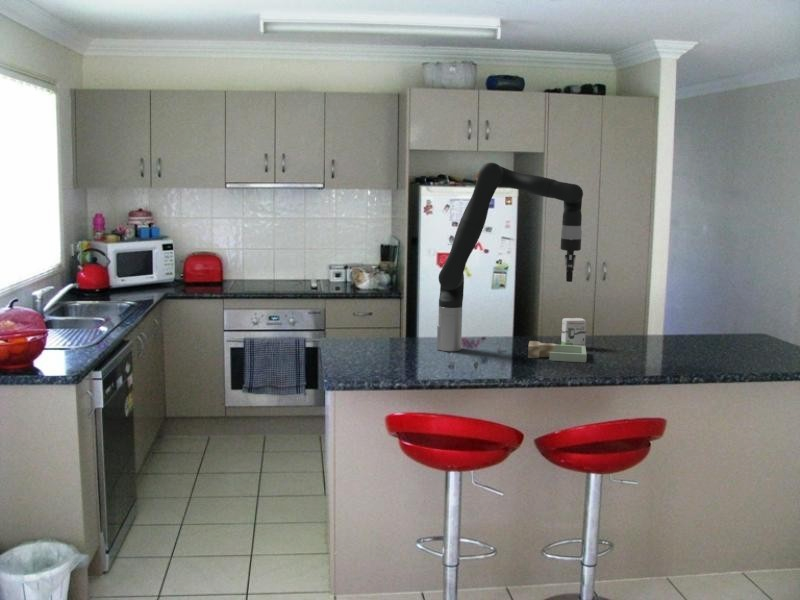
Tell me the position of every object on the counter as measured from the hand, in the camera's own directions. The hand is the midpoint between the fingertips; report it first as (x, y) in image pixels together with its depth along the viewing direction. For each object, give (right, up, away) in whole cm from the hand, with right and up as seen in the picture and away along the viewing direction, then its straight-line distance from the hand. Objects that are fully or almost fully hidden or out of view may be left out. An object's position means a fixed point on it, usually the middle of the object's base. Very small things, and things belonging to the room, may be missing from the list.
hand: (569, 280), depth 324 cm
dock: (0, -29, +2) cm, 29 cm away
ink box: (+5, -27, +19) cm, 34 cm away
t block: (-10, -29, +4) cm, 31 cm away
